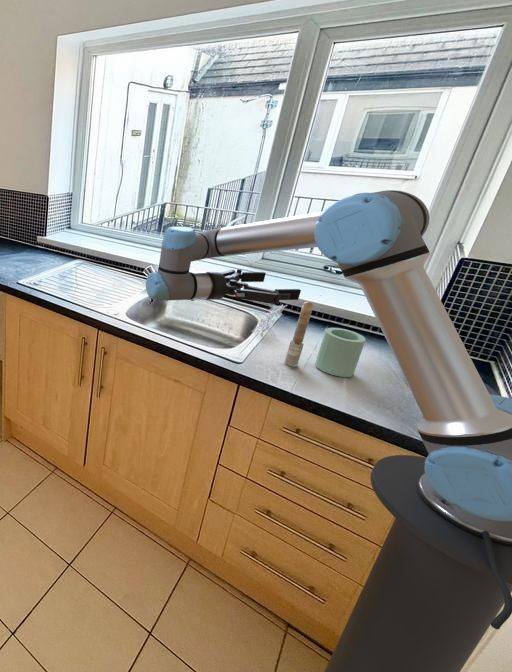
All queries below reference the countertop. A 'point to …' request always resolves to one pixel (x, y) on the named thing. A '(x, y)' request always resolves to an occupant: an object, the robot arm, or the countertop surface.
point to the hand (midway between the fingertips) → (280, 285)
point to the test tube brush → (268, 320)
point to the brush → (299, 336)
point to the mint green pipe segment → (340, 352)
